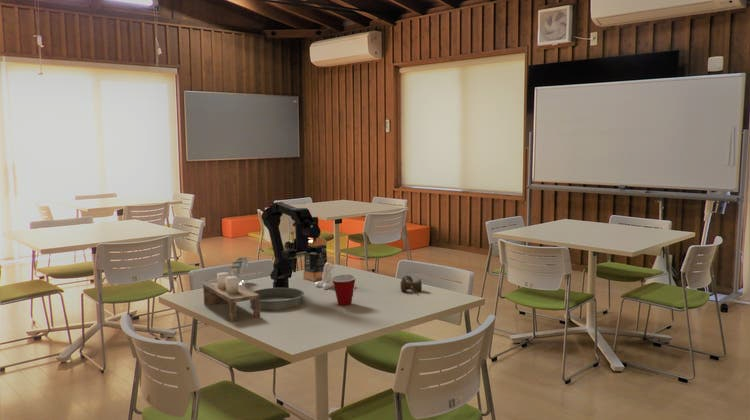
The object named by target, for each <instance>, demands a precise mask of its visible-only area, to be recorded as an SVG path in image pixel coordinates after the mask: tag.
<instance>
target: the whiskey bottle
mask: <svg viewBox="0 0 750 420" xmlns="http://www.w3.org/2000/svg"><path fill="white" fill-rule="evenodd" d="M312 217H313V219H314V222H315V223H317V226H318V227H319V217H318V216H312ZM309 239H310V241H309V247H312V246H318V247H321V248H322V249H323V253H320V255H319V257H318V258H317V260H316V262H315V265H314V267H313V269H312V270H311V269H310V257H309V255H308V253H306V254H303V255H304V257H303V261H304V265H303V266H304V271H303V279H305V280H308V281H312V282H318V281H322V274H323V272H324V271H323V270H324V266H325V264H326V263H328V257H327V256H328V255H327V244H328V241H327V240H326V239H324V238H323V237H322V236H321V235H320V236H319V237H318V238H316V239H315V238H309ZM305 252H306V251H305Z"/></svg>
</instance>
